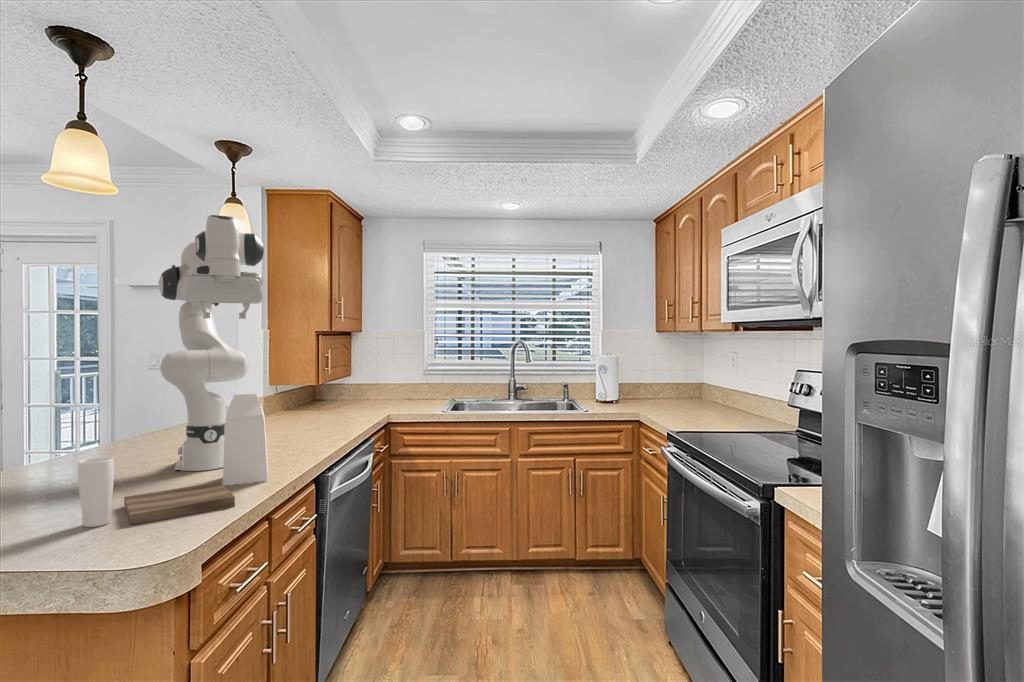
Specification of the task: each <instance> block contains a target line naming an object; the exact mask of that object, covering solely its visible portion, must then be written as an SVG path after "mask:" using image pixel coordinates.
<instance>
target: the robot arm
mask: <svg viewBox="0 0 1024 682" xmlns="http://www.w3.org/2000/svg"><path fill="white" fill-rule="evenodd" d="M194 239H195V240H194V241H193V242H190V243H189V244H188V245H186V247H184V249H183V250H182V252H181V255H180V266H179V265H178V266H176V264H172V266H171V267H169V268H167V269H165V270H164V271H163V272H162V273H161V274H160V277H159V279H158V282H157V283H158V284H157V286H158V290H159V292H160V294H161V296H162V297H163V298H164V299H166V300H171V301H175V300H176V301H177V300H178V301H184V302H183V303H182V305H181V306H180V308H179V311H178V312H179V313H178V324H179V325H178V326H179V330H180V331H179V332H180V336H181V341H182V345H183V346H184V348H185V349H183V350H178V351H173V352H169V353H167V354H166V355H165V356H164V357H163V358H162V360H161V363H160V366H159V367H160V368H159V369H160V374H161V375H162V377H163V378H164V380H165V381H166V382H168V383H169V384H171V385H173V386H174V387H175V388H177V389H178V390H179V392H180V393H181V395H183V397H184V400H185V404H186V412H187V425H186V429H185V435H186V438H185V441H184V442H183V443H182V444H181V445H182V446H179V447H178V448H177V455H179V459H177V461H176V463H175V465H174V471H175V470H181V471H188V472H189V471H190V472H191V471H192V472H194V471H195V472H197V471H211V470H217V469H221V468H223V460H224V431H225V420H226V402H225V399H224V398H223V397H222V396H221V395H219V394H217V393H215V392H211V391H209V390H207V389H206V385H205V384H206V383H223V382H231V381H232V382H233V381H237V380H239V379H243V378H244V377H245V376H246V374H247V373H248V370H249V359H248V357H247V356H246V354H245V353H244V352H243V351H242V350H238V349H236V348H233V347H232V346H231V345H229V344H227V343H226V342H225V341H224V340H223V339H222V338H221V337H220V334H219V333H218V332H219V331H218V329H217V326H216V322H215V318H214V315H213V313H212V305H214V306H215V307H217V306H219V305H220V304H242V307H243V308H244V309H243V310H242V312H239V313H238V316H239V317H238V319H239V320H246V318H247V312H248V311H249V309H250V308H251V306H250V304H251V305H252V304H260V303H262V302H263V291H262V285H263V278H262V276H261V275H259V274H258V273H257V272H248V271H241V266H247V267H248V266H249V267H255V266H256V265H258V264H259V263H260V262H261V261H262V260H263V258H264V253H265V248H264V243H263V241H262V240H261V239H260V237H259V236H258V235H257V234H255V233H247V232H246V233H241V232H240V230H239V225H238V221H237V219H236V218H235V217H232V216H229V215H228V216H226V215H218V214H212V215H208V216H207V217H206V225H205V231H201V232H200V233H198V234H197V235H196V236H195V237H194ZM186 349H187V350H186Z"/></svg>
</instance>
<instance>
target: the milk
mask: <svg viewBox="0 0 1024 682" xmlns="http://www.w3.org/2000/svg"><path fill="white" fill-rule="evenodd" d="M229 403H230V404H229V406H228V410H227V411H226V412H227V413H226V415H225V431H224V460H223V467H222V468H223V469H222V470H223V471H222V485H223V486H224V485H229V486H235V485H234V484H239V485H245V484H244V483H249V484H254V483H253V482H258V483H264V482H263V481H269V467H268V465H269V464H268V452H267V435H266V434H267V433H266V422H265V421H266V420H265V419H266V417H265V412H264V410H263V407H262V403H261V401H260V399H259V396H258V395H257V393H256V392H255V393H254V392H253V393H237V394H236V393H234V396H233V397H232V399H231V401H230V402H229ZM224 487H225V486H224Z"/></svg>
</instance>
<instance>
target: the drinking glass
mask: <svg viewBox="0 0 1024 682" xmlns="http://www.w3.org/2000/svg"><path fill="white" fill-rule="evenodd" d="M114 481H115V460H114V457H112V456H99V457H92V458H85V459H82V460H79V461H78V462H77V482H78V483H77V485H78V486H77V487H78V493H79V499H80V509H81V516H82V519H81V520H82V521H81V522H82V523H81V524H82V526H83V527H85V528H97V527H101V526H105V525H107V524H110V522H111V521H112V504H113V491H114Z"/></svg>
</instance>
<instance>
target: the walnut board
mask: <svg viewBox="0 0 1024 682" xmlns="http://www.w3.org/2000/svg"><path fill="white" fill-rule="evenodd" d="M235 498H236V497H235V495H234V494H232V492H231V491H230V490H229V489H228V488H227V487H226V486H223V483H221V482H220V481H218V482H212V483H211V482H210V483H206V484H205V483H204V484H197V485H191V486H185V487H179V488H178V487H177V488H173V489H168V490H167V489H166V490H160V491H159V490H158V491H154V492H148V493H139V494H135V495H133V494H132V495H128V496H124V498H123V501H124V503H123V504H124V506H125V507H124V510H125V509H126V510H125V513H126V515H127V516H126V517H127V518H128V521H129V525H130V526H134V525H133V524H135V525H139V524H138V523H141V524H145V523H144V522H146V523H150V522H149V521H152V522H155V520H157V521H161V520H160V519H162V520H166V518H168V519H172V518H171V517H173V518H176V517H175V516H179V517H181V516H180V515H184V516H187V515H186V514H190V515H194V514H193V513H195V514H199V513H198V512H201V513H204V512H203V511H206V512H210V511H209V510H212V511H215V510H214V509H217V510H220V509H219V508H222V509H226V508H225V507H228V508H231V507H230V506H233V507H236V499H235Z"/></svg>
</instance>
